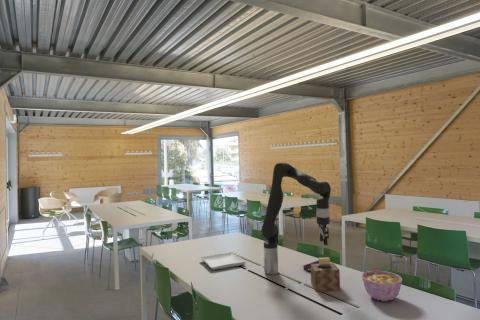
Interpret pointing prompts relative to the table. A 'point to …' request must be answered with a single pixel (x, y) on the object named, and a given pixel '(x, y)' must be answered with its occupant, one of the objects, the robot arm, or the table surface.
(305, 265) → the mounting bracket
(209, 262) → the square plate
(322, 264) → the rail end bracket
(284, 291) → the table surface
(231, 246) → the table surface
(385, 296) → the bowl of food
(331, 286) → the patterned tissue box
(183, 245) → the table surface
